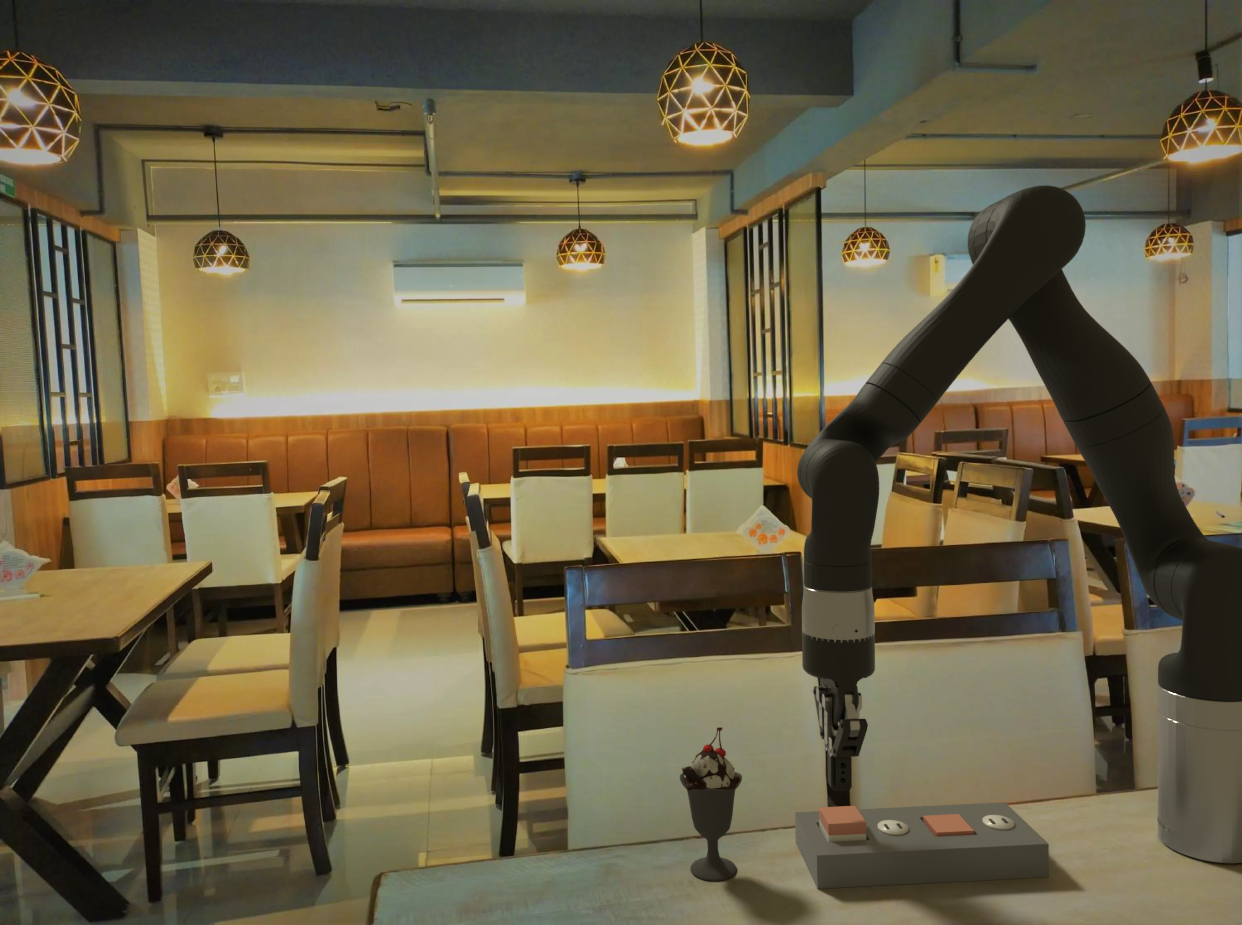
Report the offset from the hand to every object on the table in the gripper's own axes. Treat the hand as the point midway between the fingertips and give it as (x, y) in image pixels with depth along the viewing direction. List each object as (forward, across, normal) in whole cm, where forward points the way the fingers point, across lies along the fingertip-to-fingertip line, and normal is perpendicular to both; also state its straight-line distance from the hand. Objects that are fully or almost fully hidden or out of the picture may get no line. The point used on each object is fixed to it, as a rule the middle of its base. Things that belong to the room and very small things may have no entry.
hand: (839, 787), depth 99 cm
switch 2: (+7, 0, -12) cm, 14 cm away
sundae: (+9, 0, +14) cm, 16 cm away
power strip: (+8, 0, -8) cm, 12 cm away
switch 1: (+5, 0, 0) cm, 6 cm away
